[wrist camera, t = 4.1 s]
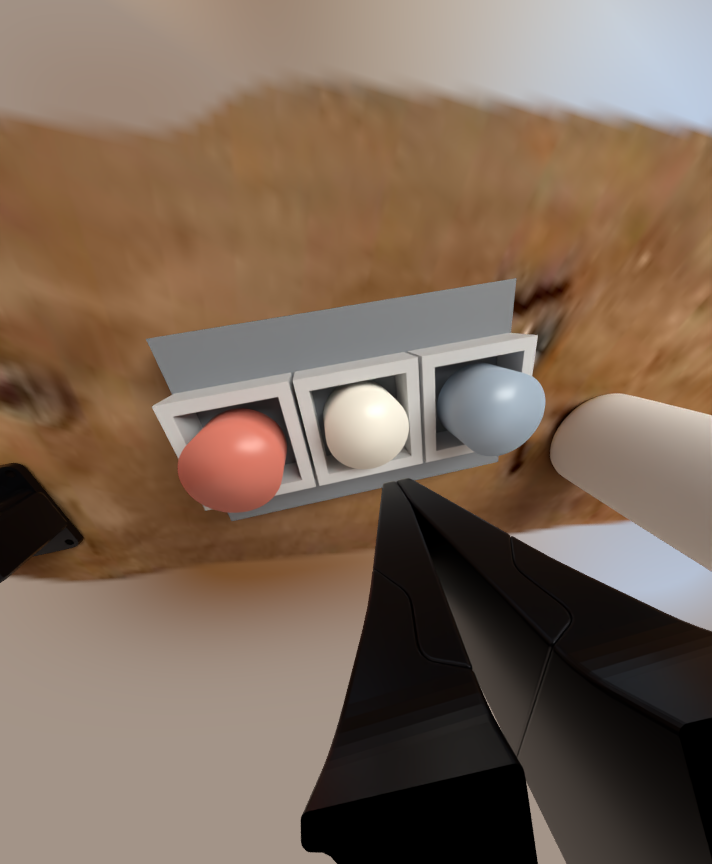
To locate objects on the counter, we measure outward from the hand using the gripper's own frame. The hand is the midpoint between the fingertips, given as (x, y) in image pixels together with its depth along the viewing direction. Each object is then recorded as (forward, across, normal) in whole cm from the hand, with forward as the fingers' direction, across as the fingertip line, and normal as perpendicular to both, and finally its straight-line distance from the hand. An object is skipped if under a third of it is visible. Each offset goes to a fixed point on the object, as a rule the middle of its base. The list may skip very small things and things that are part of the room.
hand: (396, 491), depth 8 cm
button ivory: (+7, 0, 0) cm, 7 cm away
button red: (+6, +6, 0) cm, 8 cm away
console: (+10, 0, 0) cm, 10 cm away
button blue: (+6, -6, 0) cm, 8 cm away
